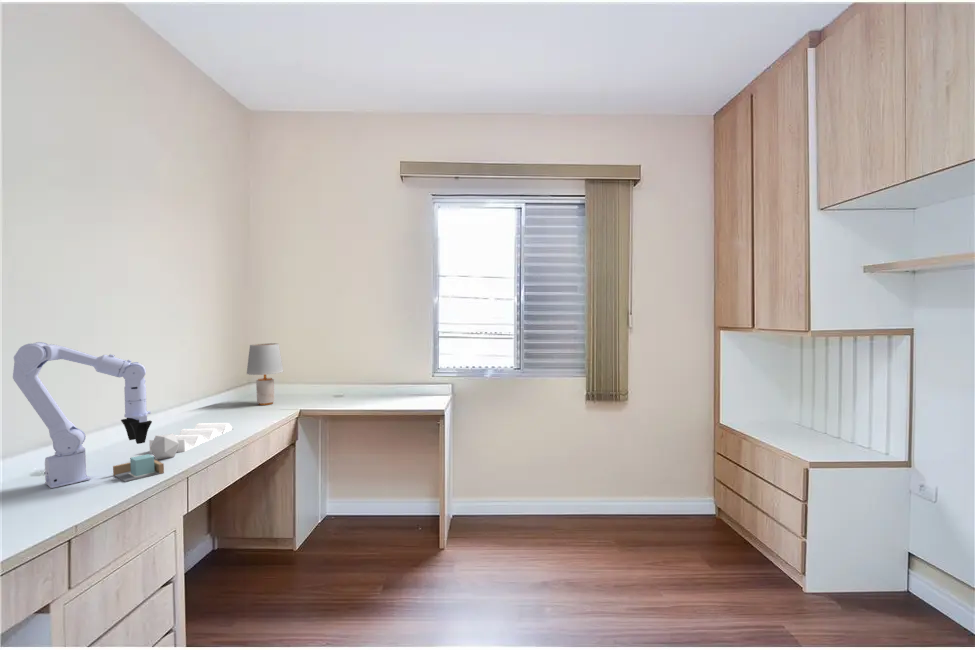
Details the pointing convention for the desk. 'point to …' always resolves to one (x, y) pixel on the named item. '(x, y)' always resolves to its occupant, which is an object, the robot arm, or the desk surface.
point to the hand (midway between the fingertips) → (136, 441)
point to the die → (164, 446)
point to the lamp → (264, 369)
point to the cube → (142, 465)
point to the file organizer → (199, 435)
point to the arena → (125, 475)
